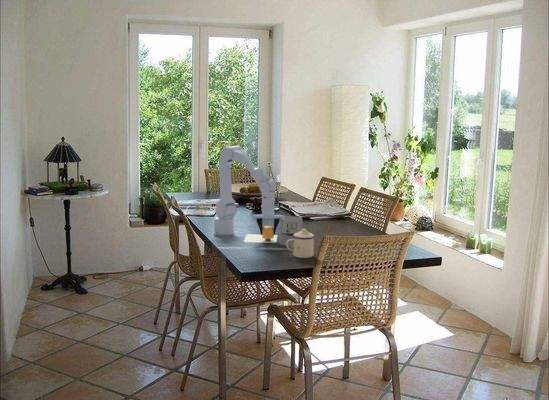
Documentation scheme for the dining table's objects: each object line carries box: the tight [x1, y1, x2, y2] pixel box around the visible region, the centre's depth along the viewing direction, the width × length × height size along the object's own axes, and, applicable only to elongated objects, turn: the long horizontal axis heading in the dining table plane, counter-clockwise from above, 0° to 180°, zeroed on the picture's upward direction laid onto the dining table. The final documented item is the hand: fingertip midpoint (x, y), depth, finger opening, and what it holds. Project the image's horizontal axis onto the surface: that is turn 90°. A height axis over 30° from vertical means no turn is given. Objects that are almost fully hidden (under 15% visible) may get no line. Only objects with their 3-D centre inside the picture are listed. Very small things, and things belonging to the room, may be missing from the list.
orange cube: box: [262, 225, 274, 239], centre depth 278 cm, size 5×5×5 cm
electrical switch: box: [282, 215, 303, 235], centre depth 295 cm, size 9×5×9 cm, turn 78°
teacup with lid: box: [285, 228, 315, 259], centre depth 255 cm, size 12×9×12 cm
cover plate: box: [243, 233, 278, 244], centre depth 282 cm, size 15×16×4 cm
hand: (268, 234), depth 278 cm, fingers closed on orange cube, 5 cm apart
